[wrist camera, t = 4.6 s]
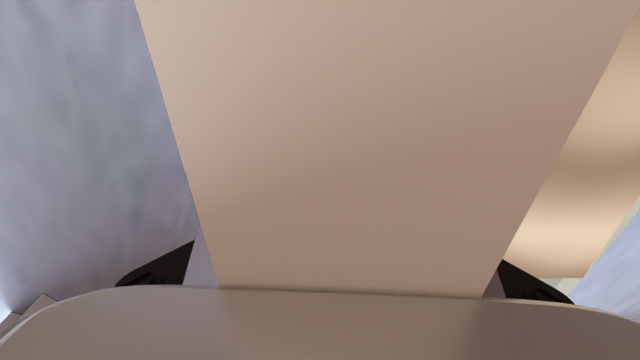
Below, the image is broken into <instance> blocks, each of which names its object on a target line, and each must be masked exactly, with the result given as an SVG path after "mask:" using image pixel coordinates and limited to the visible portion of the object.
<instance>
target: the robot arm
mask: <svg viewBox="0 0 640 360" xmlns="http://www.w3.org/2000/svg"><path fill="white" fill-rule="evenodd" d="M0 360H640V322H638V321H635V320H632V319H629V318H626V317H623V316H620V315H617V314H614V313H610V312H606V311H602V310H598V309H594V308H589V307H584V306H578V305H575V304H574V303H573V302H572V301H571V300H570V299H569V298H568V297H567V296H566V295H565V294H563V293H562V292H560V291H559V290H557V289H556V288H554V287H552V286H550V285H548V284H547V283H545V282H543V281H541V280H539V279H538V278H536V277H534V276H532V275H530V274H529V273H527V272H525V271H523V270H521V269H520V268H518V267H516V266H514V265H512V264H511V263H509V262H507V261H505V260H503V259H502V260H501V262H500V264H499V265H498V267H497V269H496V271H495V273H494V275H493V276H492V278H491V280H490V282H489V284H488V286H487V287H486V289H485V291H484V293H483V295H482V297H481V298H461V297H440V296H418V295H394V294H370V293H346V292H323V291H299V290H276V289H250V288H223V287H219V285H218V281H217V278H216V275H215V271H214V268H213V264H212V261H211V258H210V254H209V251H208V248H207V244H206V241H205V238H204V234H203V231H202V227H201V224H200V226H199V228H198V231H197V235H196V238H195V240H193V241H191V242H189V243H187V244H185V245H183V246H181V247H179V248H177V249H175V250H173V251H171V252H169V253H167V254H165V255H163V256H161V257H159V258H157V259H155V260H153V261H151V262H149V263H147V264H145V265H143V266H141V267H139V268H137V269H135V270H133V271H132V272H130V273H128V274H127V275H125V276H124V277H123V278H122V279H121V280H119V281H118V282H117V284H116V285H115V286H114V288H109V289H106V287H105V288H103V289H100V290H97V291H93V292H89V293H85V294H82V295H78V296H74V297H70V298H68V299H65V300H62V301H59V302H57V303H54V304H52V305H49V306H47V307H45V308H43V309H41V310H39V311H38V312H36V313H34V314H32V315H31V316H28V317H26V318H23V319H21V320H19V321H17V322H15V323H13V324H12V325H10V326H9V327H8V328H6V329H5V330H3V331H2V332H1V333H0Z"/></svg>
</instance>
